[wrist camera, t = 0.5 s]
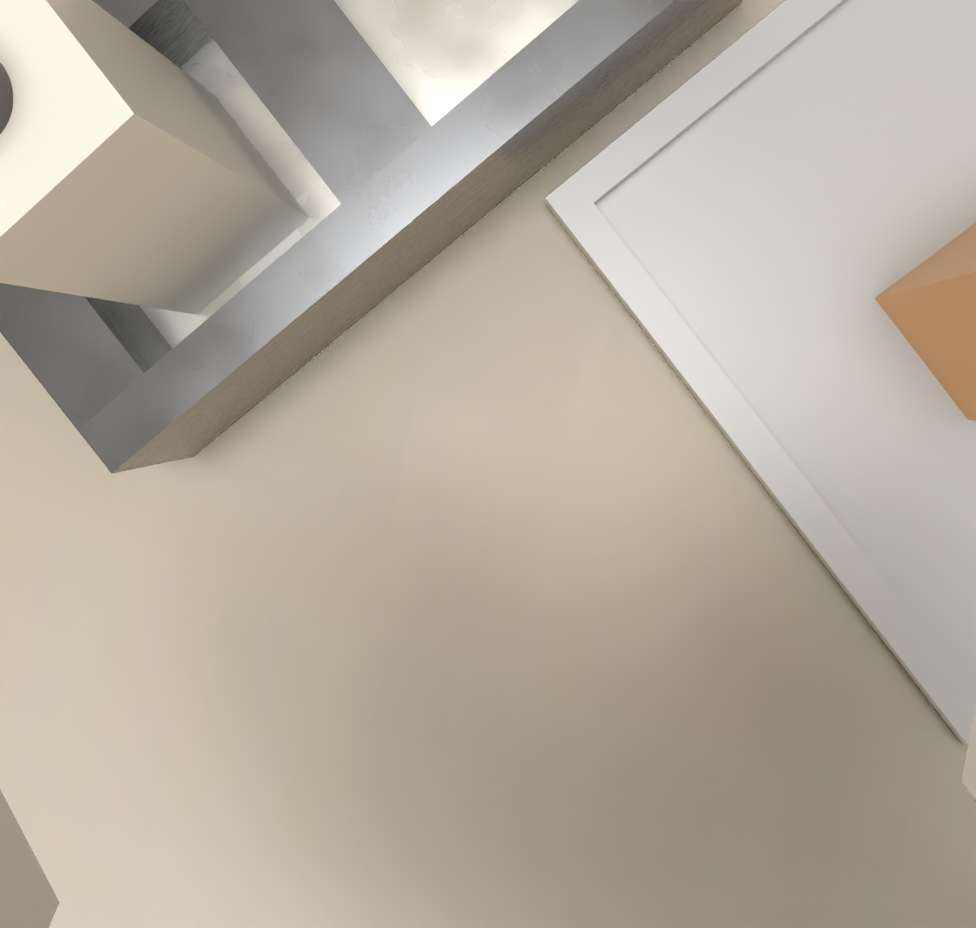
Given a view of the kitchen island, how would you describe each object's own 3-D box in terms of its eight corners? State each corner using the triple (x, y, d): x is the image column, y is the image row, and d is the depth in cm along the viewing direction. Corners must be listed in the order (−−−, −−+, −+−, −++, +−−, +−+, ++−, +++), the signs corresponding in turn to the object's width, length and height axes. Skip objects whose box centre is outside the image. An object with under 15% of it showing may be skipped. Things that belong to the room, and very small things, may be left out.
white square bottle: (309, 217, 25) (67, 74, 13) (196, 314, 26) (-132, 261, 14) (214, 95, 25) (-116, -161, 13) (103, 195, 26) (-307, 39, 14)
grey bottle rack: (741, 2, 25) (781, -90, 20) (193, 456, 28) (112, 473, 23) (532, -272, 25) (521, -431, 20) (4, 216, 28) (-117, 182, 23)
